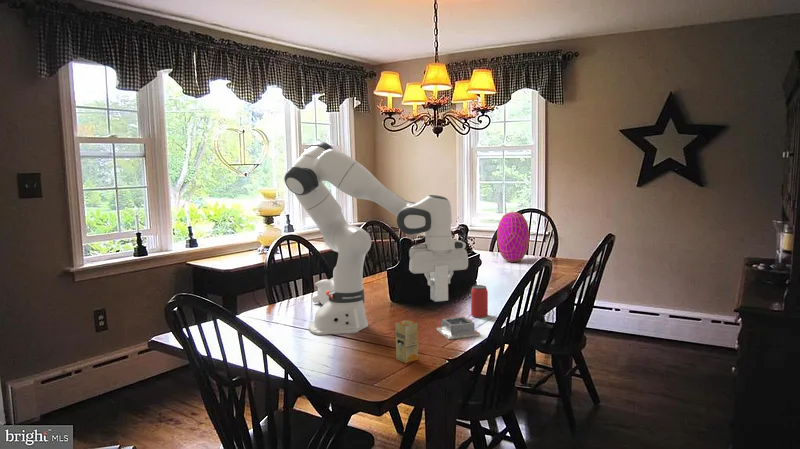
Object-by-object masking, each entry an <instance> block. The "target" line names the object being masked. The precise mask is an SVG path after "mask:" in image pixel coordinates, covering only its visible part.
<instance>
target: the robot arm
mask: <svg viewBox="0 0 800 449" xmlns="http://www.w3.org/2000/svg"><path fill="white" fill-rule="evenodd" d="M323 181H326V182H328V183H329V184H331V185H333V186H334V187H335V188H337V190H340V191H341V192H342V193H344V194H346V195H348V196H349V197H352V198H355V199H358V200H366V201H371V202H374V203H376V204H377V205H379V206H381V207H382V208H383V209H385V210H387V211H388V212H389V213H391V214H393V215H394V216H395V217H396V225H397V227H398V229H399V230H400V232H401V233H403V234H405V235H409V236H413V235H418V234H422V233H424V238H425V241H424V242H425V243H424V244H420V245H419V244H418V245H416V244H415V245H413V246H411V247H410V248H409V250H408V256H409V263H408V264H409V265H408V267H409V268H408V270H409V271H410V273H412V274H414V275H416V274H424V275H423V276H424V277H425V278H426V280H427V285H428V286H431V285H434V283H433V280H432V279H430V272H434V266H438V265H448V285H449V284H451V279H452V277H453V275H454V271H462V270H464V271H465V270H467V269H468V267H469V256H468V251H467V250H466V247H467V244H466V242H464V241H462V240H458V239H456V238H453V235H452V234H453V233H452V229H451V227H452V222H453V221H452V220H453V219H452V218H453V215H452V206H451V202H450V200H449V199H448V198H447V197H445V196H442V195H436V194H428V195H427V196H425V197H424V198H423V199H421V200H419V201H417V202H415V201H414V202H413V201H408V200H406V199H404V198H403V197H401V196H400V195H398V194H397V193H395V192H394V191H392V190H390V189H389V188H387V187H386V186H385V185H384V184H383V183H382V182H381V181H379V180H378V179H377V178H376V176H374V175H373V173H371V171H369V170H368V169H367V168H366V167H365V166H364V165H363V164H361V163H360V162H358V161H357V160H355V159H354V158H353V157H350V156H349V155H348V154H346V153H343V152H342V151H339V150H337V149H335V148H333V147H332V146H331V145H330V144H328V143H327V142H324V141H317V142H315V143H313V144H311V145H310V146H309V147H308V148H307V149H306V150H305V151H304V152H303V153H301V154H300V155H299V156H298V158H297V159H296V160H295V162H294V163H293V164H292V166H290V167H289V168H288V170H287V171H286V173H285V174H284V184H285V185H286V187H287V189H288V190H289V191H290V192H292V193H293V194H295V197H296V198H297V200H298V202H299V204H300V205H301V207H303V209H304V210H305V211H306V213H307V214H308V215H309V217H310V218H311V219H312V221H313V222H314V224H315V225H316V226H317V228H318V230H319V232H320V233H321V236H322V238H323V242H324V244H325V245H326V246H327V247H328V248H329V249H330V250H331V251H333V252H336V253H337V254H338V255H337V261H336V264H335V266H334V268H333V271H332V276H333V277H332V278H333V282H334V290H333V291H329V290H327V292H326V295H327V296H329V301H328V302H327V303H326V304H324V305H322V306H321V307H319V308H318V309H317V310H316V312H315V314H314V320H313V321H314V322H311V323H309V324H308V331H309V332H311V334H314V335H317V336H319V335H320V336H321V335H337V334H339V335H340V334H354V333H359V331H361V330H363V329H365V328H367V327H368V326H369V323H368V320H367V317H366V309H365V300H366V299H365V290H364V288H363V287H364V286H363V284H364V283H363V281H364V279H363V269H364V263H365V258H366V255H367V253H368V252H369V251H370V249H371V246H372V237H371V236H370V234H369V232H367V231H366V230H365V229H363V228H362V227H360V226H355V225H350V224H349V222H348V221H347V220H346V219H345V216H344V215H343V213H342V207H341V205H340V204H339V202H338V201H337V200H336V199H335V197H334V195H333V194H332V193H331V192H330V189H329V188H328V187H327V186H326V185H325V184H324V182H323Z"/></svg>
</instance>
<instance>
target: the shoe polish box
mask: <svg viewBox="0 0 800 449" xmlns="http://www.w3.org/2000/svg"><path fill="white" fill-rule="evenodd" d="M418 328H419V327H418V322H416V321H414V320H411V319H403V320H399V321H396V322H395V356H396V358H395V359H396V360H398V361H400V362H402V363H405V364H408V363H411V362H414V361H418V360H419V332H418V331H419V329H418Z"/></svg>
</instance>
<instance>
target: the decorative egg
mask: <svg viewBox="0 0 800 449" xmlns="http://www.w3.org/2000/svg"><path fill="white" fill-rule="evenodd" d="M496 243H497V248H498V251H499V254H500V255H501V257H502V258H503V259H504V260H505V261H507V262H510V263H517V262H520V261H521V260H523V259H524V257H525V255H526V254H527V253H528V252H527V251H528V249H529V245H530V244H529V243H530V230H529V225H528V222H527V219H526V218H525V217H524V215H522V213H519V212H517V211H510V212H507V213H505V214H504V215H503V216H502V217H501V219H500V220H499V223H498V226H497V232H496Z"/></svg>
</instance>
